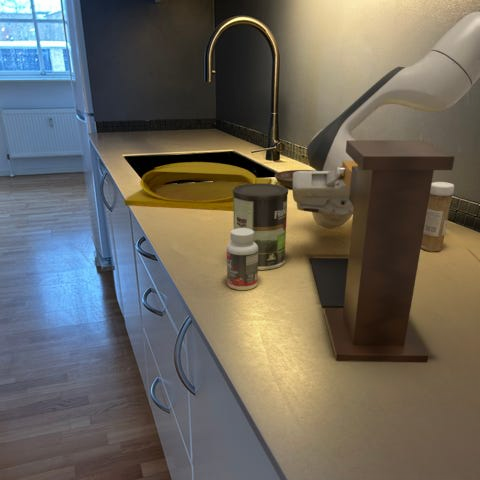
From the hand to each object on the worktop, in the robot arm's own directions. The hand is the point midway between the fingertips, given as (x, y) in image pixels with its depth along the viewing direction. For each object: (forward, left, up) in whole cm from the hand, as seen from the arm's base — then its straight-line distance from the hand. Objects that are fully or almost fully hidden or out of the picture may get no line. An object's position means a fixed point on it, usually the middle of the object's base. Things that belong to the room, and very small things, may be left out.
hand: (353, 171), depth 88 cm
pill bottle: (+19, +7, -18) cm, 27 cm away
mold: (+32, -61, -18) cm, 71 cm away
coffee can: (+16, -5, -18) cm, 25 cm away
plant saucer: (+2, -73, -18) cm, 75 cm away
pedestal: (0, +25, -18) cm, 31 cm away
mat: (0, +5, -18) cm, 19 cm away
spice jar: (-20, -13, -18) cm, 30 cm away
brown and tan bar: (0, +6, -2) cm, 7 cm away
